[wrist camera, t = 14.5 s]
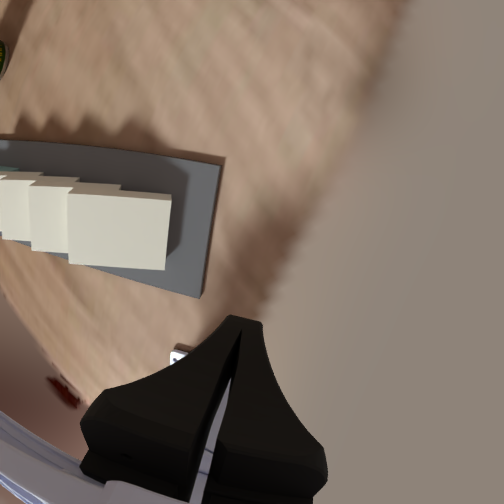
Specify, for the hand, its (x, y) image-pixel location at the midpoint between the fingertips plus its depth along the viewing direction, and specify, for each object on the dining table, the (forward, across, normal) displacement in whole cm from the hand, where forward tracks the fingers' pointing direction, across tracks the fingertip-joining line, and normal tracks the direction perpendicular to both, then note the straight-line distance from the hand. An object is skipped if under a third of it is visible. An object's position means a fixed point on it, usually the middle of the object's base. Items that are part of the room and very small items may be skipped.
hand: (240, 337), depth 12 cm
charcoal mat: (+10, +16, 0) cm, 19 cm away
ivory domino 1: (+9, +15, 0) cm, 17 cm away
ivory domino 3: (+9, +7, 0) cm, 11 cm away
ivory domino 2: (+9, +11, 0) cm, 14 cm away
